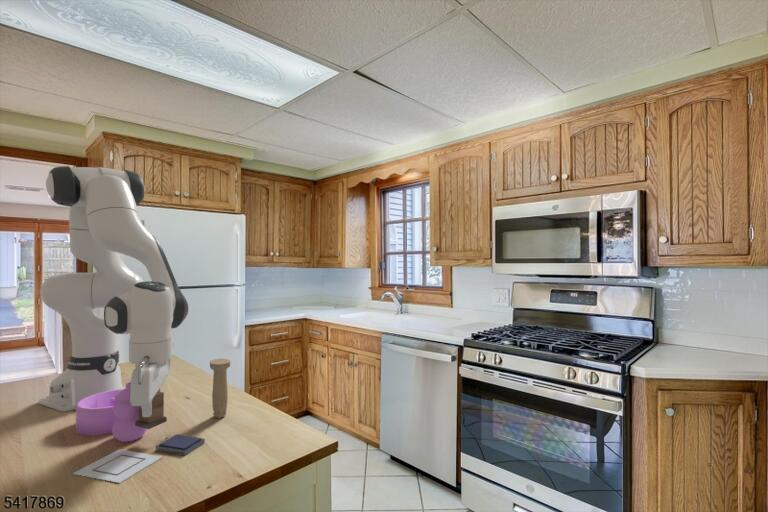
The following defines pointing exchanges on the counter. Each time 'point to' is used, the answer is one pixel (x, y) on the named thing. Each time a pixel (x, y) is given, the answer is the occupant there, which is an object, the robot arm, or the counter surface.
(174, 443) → the ink tin
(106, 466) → the card
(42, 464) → the counter surface
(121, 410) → the container set
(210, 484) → the counter surface
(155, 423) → the stamp
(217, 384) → the handle
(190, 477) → the counter surface
